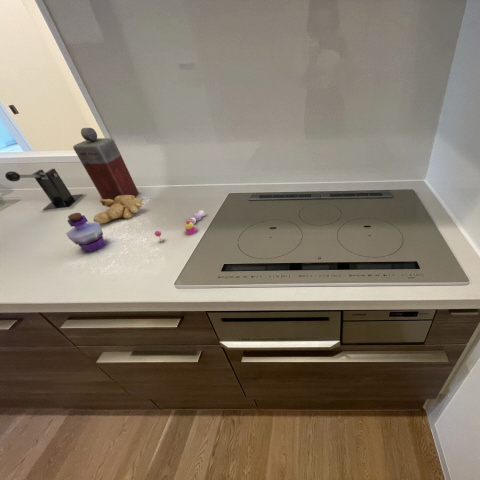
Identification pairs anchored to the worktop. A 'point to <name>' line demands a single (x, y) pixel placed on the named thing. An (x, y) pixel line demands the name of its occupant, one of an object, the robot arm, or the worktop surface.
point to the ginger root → (118, 208)
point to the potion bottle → (85, 233)
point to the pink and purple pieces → (189, 223)
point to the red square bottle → (105, 165)
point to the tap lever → (23, 176)
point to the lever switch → (56, 190)
